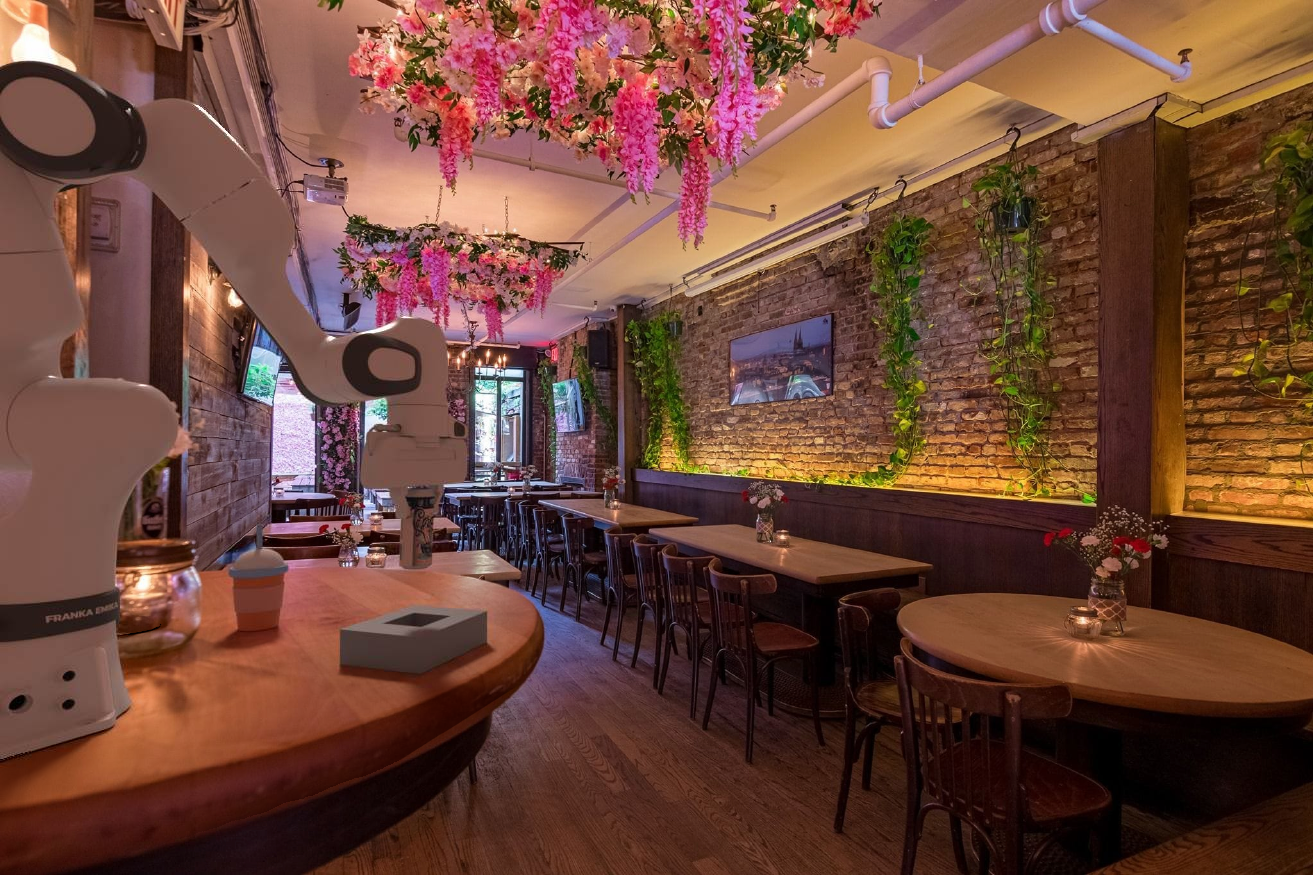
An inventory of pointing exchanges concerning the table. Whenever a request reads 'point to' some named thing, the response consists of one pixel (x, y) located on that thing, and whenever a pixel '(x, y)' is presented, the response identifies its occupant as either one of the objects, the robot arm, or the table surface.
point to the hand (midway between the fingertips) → (417, 516)
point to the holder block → (413, 638)
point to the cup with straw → (258, 587)
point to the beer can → (417, 530)
